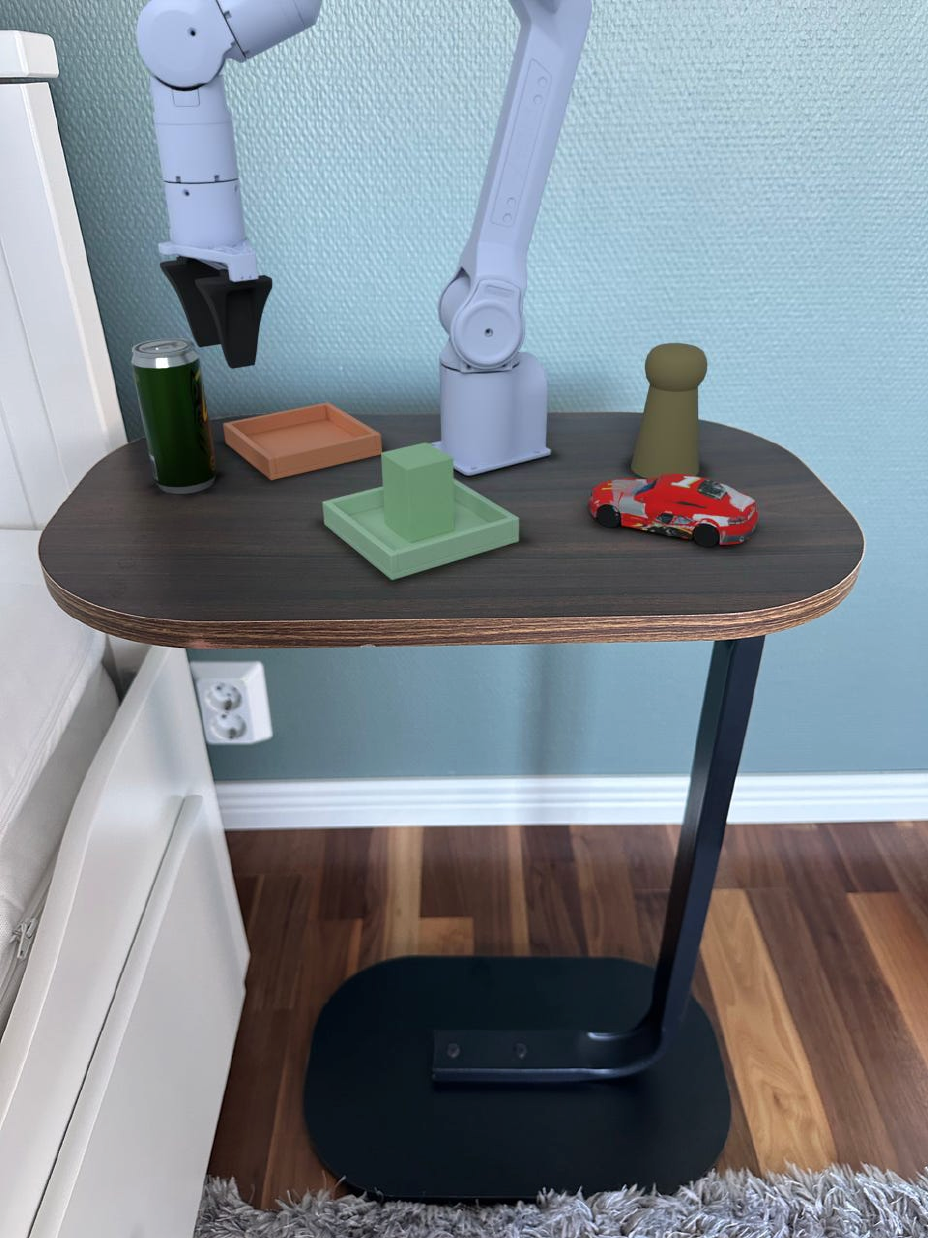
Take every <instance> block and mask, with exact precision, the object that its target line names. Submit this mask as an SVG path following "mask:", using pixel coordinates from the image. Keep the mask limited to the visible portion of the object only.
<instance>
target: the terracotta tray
mask: <svg viewBox="0 0 928 1238" xmlns="http://www.w3.org/2000/svg"><path fill="white" fill-rule="evenodd" d="M222 424H223V425H222V427H223V433H224V440H225V443H226V445H227V446H229V447H230V448H231V449H232V450H234V451H235V452H236V453H238V455H240V456H241V457H242V458H243V459H245V460H246V461H247V462H248V463H249V464H250V465H252V466H253V467H254V468H256V469H257V470H258V471H259V472H260V473H262V474H263V475H264V476H265V477H266V478H268V479H269V480H270V481H274V480H277V479H278V480H279V479H283V478H287V477H292V476H295V475H300V474H305V473H308V472H312V471H317V470H322V469H326V468H330V467H334V466H338V465H342V464H347V463H350V462H356V461H359V460H360V461H361V460H364V459H368V458H372V457H376V456H377V457H378V456H381V453H382V452H383V444H382V434H381V433H380V432H378V431H376V430H375V429H373V428H372V427H370V426H368V425H367V424H365V423H364V422H362V421H361V420H358V419H357V418H356V417H354V416H352V415H350V414H348V413H347V412H345V411H344V410H342V409H340V408H338V407H337V406H336V405H333V404H332V403H331V402H329V401H327V402H323V403H318V404H317V403H316V404H313V405H308V406H302V407H297V408H293V409H288V410H282V411H278V412H273V413H268V414H262V415H257V416H252V417H247V418H243V419H238V420H232V421H229V422H224V423H222Z"/></svg>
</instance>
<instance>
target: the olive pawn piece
mask: <svg viewBox="0 0 928 1238" xmlns="http://www.w3.org/2000/svg"><path fill="white" fill-rule="evenodd" d="M644 372H645V379H646V380H647V382H648V383H649V385H648V390H647V393H646V399H645V403H644V407H643V411H642V416H641V420H640V425H639V429H638V432H637V438H636V441H635V447H634V451H633V455H632V459H631V465H630V468H631V471H632V472H633V473H634V474H635V475H637V476H639V477H641V478H642V479H651V478H656V477H660V476H661V475H667V474H674V473H675V474H687V475H692V476H697V477H698V474H699V473H700V443H699V442H700V441H699V438H700V437H699V430H700V429H699V386H700V385H701V384H702V383H703V381H704V380H705V378H706V375H707V374H708V373H707V372H708V358H707V356H706V354H705V351H704V350H702V349H701V348H700V347H699V346H697V345H694V344H689V343H685V342H684V343H683V342H669V343H661V344H658V345H656V346H654V347H652V348H651V350H649V352H648V354H647V355H646V358H645V361H644Z"/></svg>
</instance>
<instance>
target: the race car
mask: <svg viewBox="0 0 928 1238" xmlns="http://www.w3.org/2000/svg"><path fill="white" fill-rule="evenodd" d="M588 503H589V505H588V506H589V512H590V515H592V517H594V518H595V519H596V518H597V519H598V522H599V523H600V524H601V526H604V527H606V528H615V527H617V526H618V525H619V524H621V525H620V526H622V527H627V528H632V529H637V530H642V531H647V532H652V533H657V534H662V535H666V536H670V537H677V538H682V539H687V540H692V539H693V538H694V541H695V543H696V544H698V545H699V546H700V547H702V548H712V547H714V546H716V545H717V543H718V542H719V545H721V546H723V545H724V546H725V545H726V546H728V545H737V544H742V543H744V542H746V541H750V539H751V537H752V535H753V534H754V533H755V530H756V528H757V527H758V524H757V522H758V518H759V514H758V512H757V503H756V500H755V499H754V498H753V497H751V496H750V495H748V494H746V493H743V492H740V491H738V490H736V489H734V488H732V487H731V486H729V485H726V484H723V483H721V482H718V481H715V480H713V479H709V478H705V477H701V476H698V475H697V476H692V475H687V474H675V473H674V474H667V475H661V476H660V477H656V478H651V479H647V478H627V477H626V478H616V479H610V480H607V481H604V482H601V483H599V484H597V485H596V486H595V487H594V488H593V489H592V492H591V494H590V495H589V499H588Z"/></svg>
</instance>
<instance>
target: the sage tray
mask: <svg viewBox="0 0 928 1238" xmlns="http://www.w3.org/2000/svg"><path fill="white" fill-rule="evenodd" d="M453 479H454V530H453V531H450V532H446V533H443V534H439V535H436V536H432V537H429V538H426V539H422V540H419V541H415V542H412V543H410V542H408V541H407V540H406V539H404V538H403V537H402V536H400V535H399V534H398V533H396V532H395V531H394V530H392V529H391V528H390V527H388V526H387V525H386V524H385V513H384V496H383V485H382V486H379V487H375V488H371V489H367V490H362V491H359V492H356V493H351V494H347V495H344V496H340V497H335V498H332V499H328V500H324V501H322V502H321V503H322V512H323V513H322V514H323V524H324V526H325V527H327V528H328V529H329V530H331V531H332V532H333V533H334V534H335V535H336V536H338V537H339V538H340V539H341V540H342V541H344V542H345V543H346V544H347V545H348V546H349V547H351V548H353V550H355V551H356V552H357V553H358V554H360V555H361V556H362V557H363V558H365V559H366V561H368V562H369V563H370V564H372V565H373V566H374V567H375V568H376V569H378V570H379V571H380V572H381V573H382V574H384V575H385V576H386V577H387V578H389V580H391V581H394V580H397V579H401V578H405V577H408V576H410V575H414V574H418V573H420V572H424V571H427V570H430V569H433V568H438V567H440V566H443V565H447V564H450V563H452V562H453V563H454V562H456V561H459V560H463V559H467V558H469V557H470V558H471V557H473V556H476V555H480V554H482V553H486V552H489V551H492V550H495V549H498V548H502V547H505V546H509V545H511V544H515V543H518V542H519V541H520V517H518V516H516V514H513V513H511V512H510V511H508V510H507V509H505V508H504V507H503V506H500V505H498V504H497V503H495V502H493V501H492V500H490V499H489V498H487V497H485V496H484V495H482V494H480V493H479V492H477V491H476V490H474V489H472V488H471V487H469V486H467V485H465V484H464V483H462V482H461V481H459V480H457V479H456V478H454V477H453Z"/></svg>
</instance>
